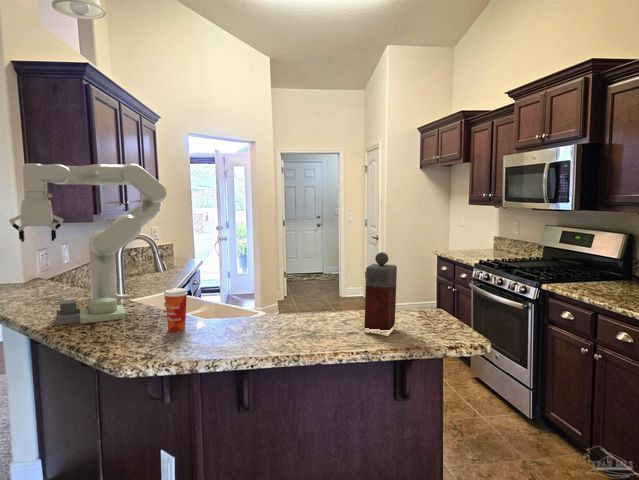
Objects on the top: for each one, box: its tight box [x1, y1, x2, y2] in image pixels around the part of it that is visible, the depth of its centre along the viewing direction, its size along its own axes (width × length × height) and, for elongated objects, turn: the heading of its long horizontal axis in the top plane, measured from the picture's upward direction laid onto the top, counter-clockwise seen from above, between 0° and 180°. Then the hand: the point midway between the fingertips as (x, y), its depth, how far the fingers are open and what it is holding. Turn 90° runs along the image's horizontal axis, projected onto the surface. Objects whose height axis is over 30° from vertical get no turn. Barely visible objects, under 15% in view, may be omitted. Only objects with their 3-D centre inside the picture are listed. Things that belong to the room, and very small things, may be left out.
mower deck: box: [55, 298, 127, 326], centre depth 157 cm, size 22×14×6 cm, turn 120°
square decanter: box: [364, 251, 398, 330], centre depth 146 cm, size 9×11×28 cm
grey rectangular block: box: [59, 298, 78, 315], centre depth 153 cm, size 5×6×7 cm
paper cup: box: [163, 287, 188, 333], centre depth 143 cm, size 8×8×14 cm
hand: (38, 241), depth 160 cm, fingers open, 9 cm apart
